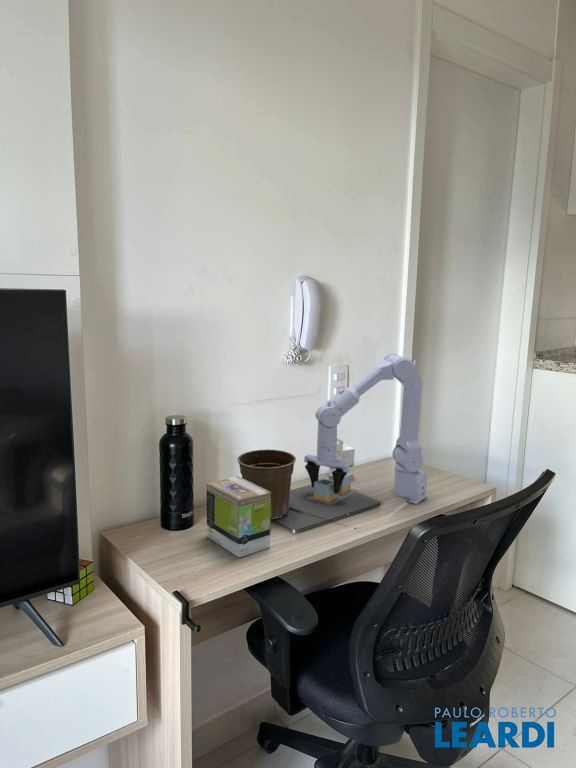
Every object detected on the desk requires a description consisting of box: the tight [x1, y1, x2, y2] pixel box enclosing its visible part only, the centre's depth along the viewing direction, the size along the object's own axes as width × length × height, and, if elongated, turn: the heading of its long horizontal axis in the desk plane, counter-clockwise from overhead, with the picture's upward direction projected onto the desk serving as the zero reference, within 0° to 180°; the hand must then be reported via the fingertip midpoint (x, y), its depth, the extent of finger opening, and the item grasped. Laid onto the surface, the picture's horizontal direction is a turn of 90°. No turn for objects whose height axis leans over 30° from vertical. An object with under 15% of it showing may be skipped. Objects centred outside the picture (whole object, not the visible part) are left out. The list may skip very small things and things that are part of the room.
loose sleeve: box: [313, 477, 337, 502], centre depth 172 cm, size 5×5×5 cm
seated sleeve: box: [328, 474, 352, 494], centre depth 178 cm, size 5×5×5 cm
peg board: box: [306, 488, 358, 506], centre depth 175 cm, size 9×15×4 cm, turn 144°
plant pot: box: [237, 449, 297, 521], centre depth 163 cm, size 16×16×16 cm
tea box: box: [206, 475, 271, 558], centre depth 144 cm, size 15×10×15 cm, turn 38°
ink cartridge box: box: [328, 437, 356, 481], centre depth 190 cm, size 9×5×15 cm, turn 25°
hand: (325, 489), depth 172 cm, fingers open, 7 cm apart
